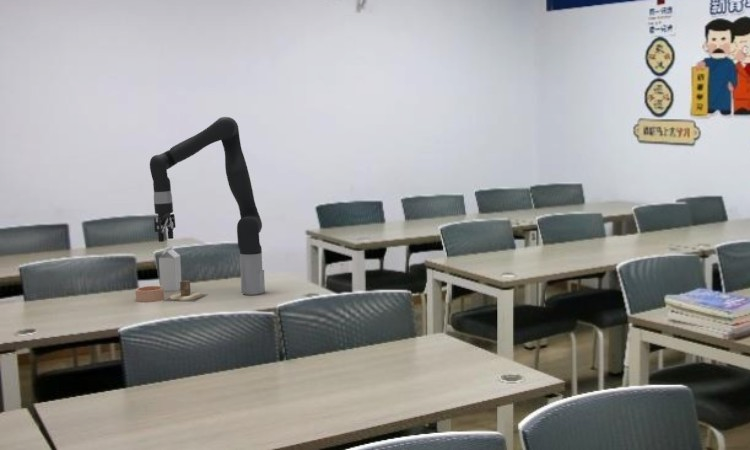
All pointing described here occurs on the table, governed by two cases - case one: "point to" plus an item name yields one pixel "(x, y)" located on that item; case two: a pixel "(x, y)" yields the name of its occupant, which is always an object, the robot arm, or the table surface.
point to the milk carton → (170, 270)
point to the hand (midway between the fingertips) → (166, 240)
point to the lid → (185, 293)
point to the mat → (190, 300)
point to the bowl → (149, 294)
